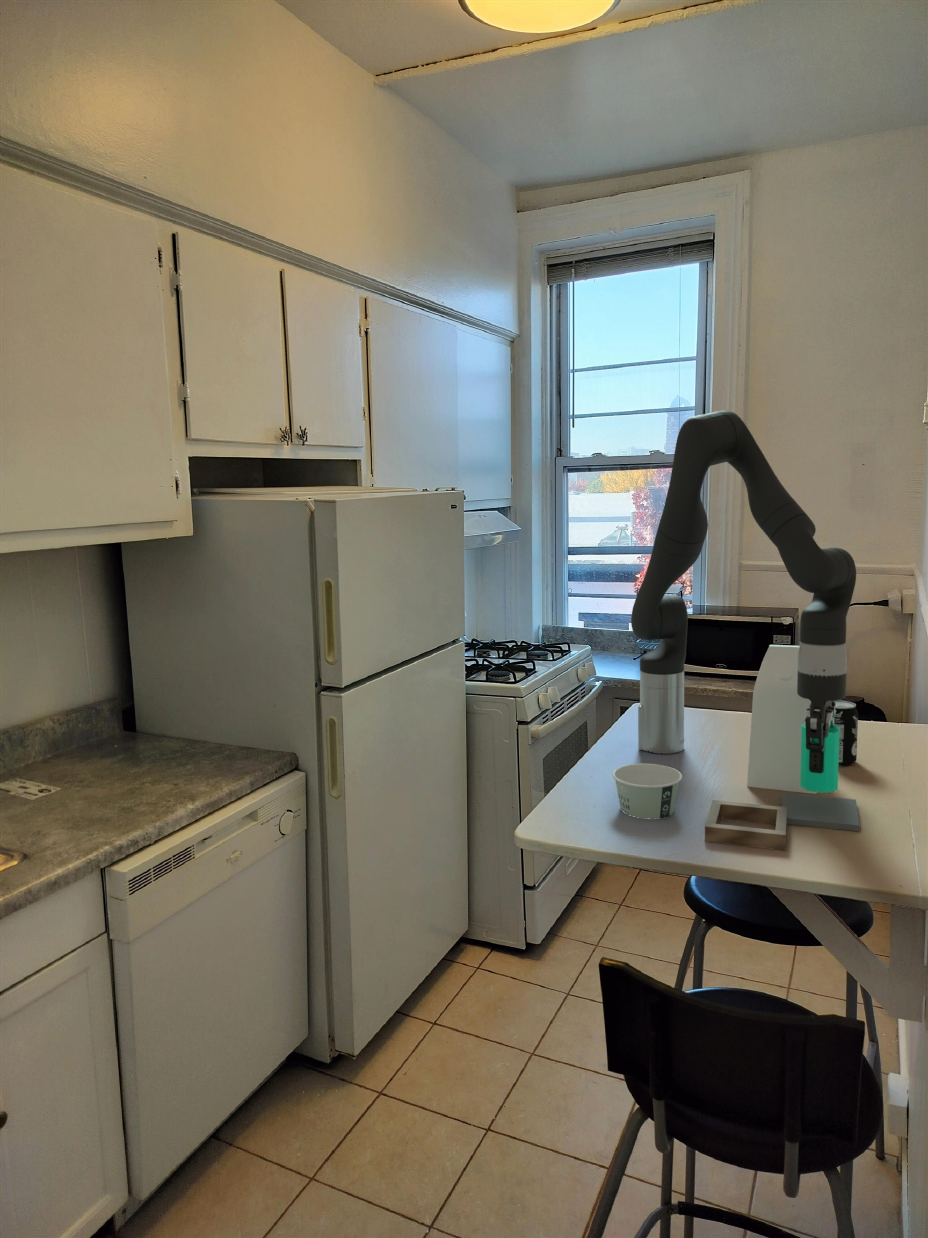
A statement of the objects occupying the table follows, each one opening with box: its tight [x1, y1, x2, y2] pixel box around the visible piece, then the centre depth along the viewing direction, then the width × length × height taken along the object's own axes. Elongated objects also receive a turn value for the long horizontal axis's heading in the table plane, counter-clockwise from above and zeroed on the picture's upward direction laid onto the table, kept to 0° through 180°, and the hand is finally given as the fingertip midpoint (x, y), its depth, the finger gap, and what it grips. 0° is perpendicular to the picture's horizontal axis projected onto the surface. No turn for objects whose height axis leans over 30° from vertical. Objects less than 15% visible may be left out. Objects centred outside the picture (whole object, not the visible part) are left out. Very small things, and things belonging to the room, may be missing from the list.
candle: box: [800, 724, 840, 794], centre depth 142 cm, size 6×6×12 cm
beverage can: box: [834, 699, 859, 767], centre depth 169 cm, size 7×7×12 cm
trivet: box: [780, 792, 861, 832], centre depth 144 cm, size 12×12×1 cm
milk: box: [746, 644, 817, 795], centre depth 159 cm, size 12×12×26 cm
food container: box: [611, 763, 683, 820], centre depth 148 cm, size 12×12×6 cm
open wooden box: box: [704, 799, 788, 852], centre depth 138 cm, size 12×12×2 cm
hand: (819, 767), depth 142 cm, fingers closed on candle, 5 cm apart
